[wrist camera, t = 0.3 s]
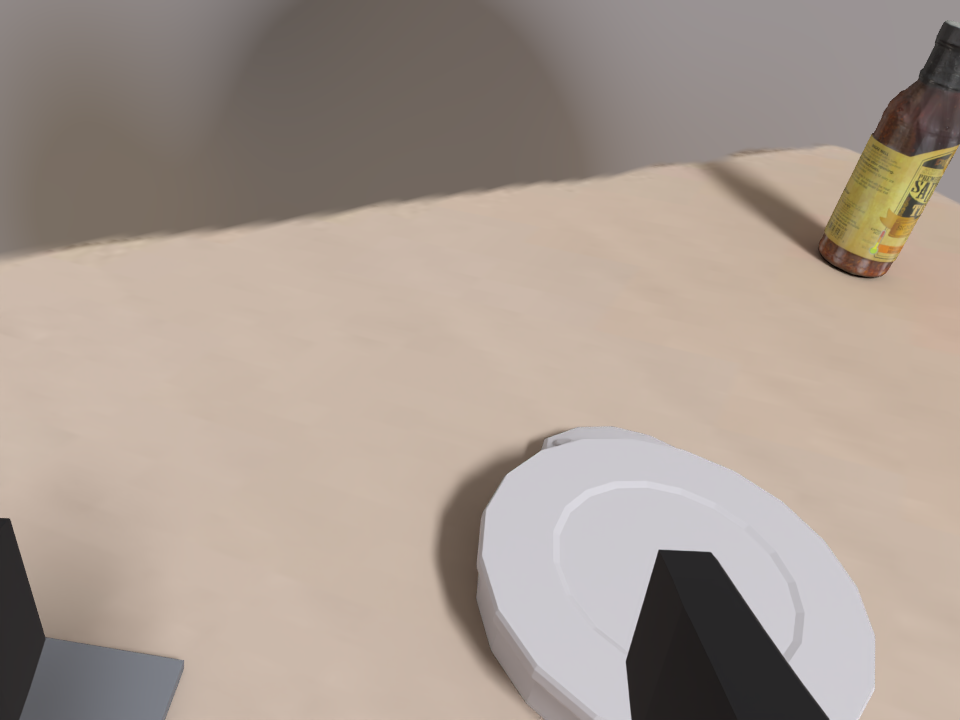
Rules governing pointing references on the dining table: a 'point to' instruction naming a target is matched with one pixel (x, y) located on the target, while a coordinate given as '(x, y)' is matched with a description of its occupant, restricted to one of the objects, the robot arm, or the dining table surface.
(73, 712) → the mat
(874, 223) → the sauce bottle
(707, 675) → the robot arm
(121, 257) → the dining table surface
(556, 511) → the lid
